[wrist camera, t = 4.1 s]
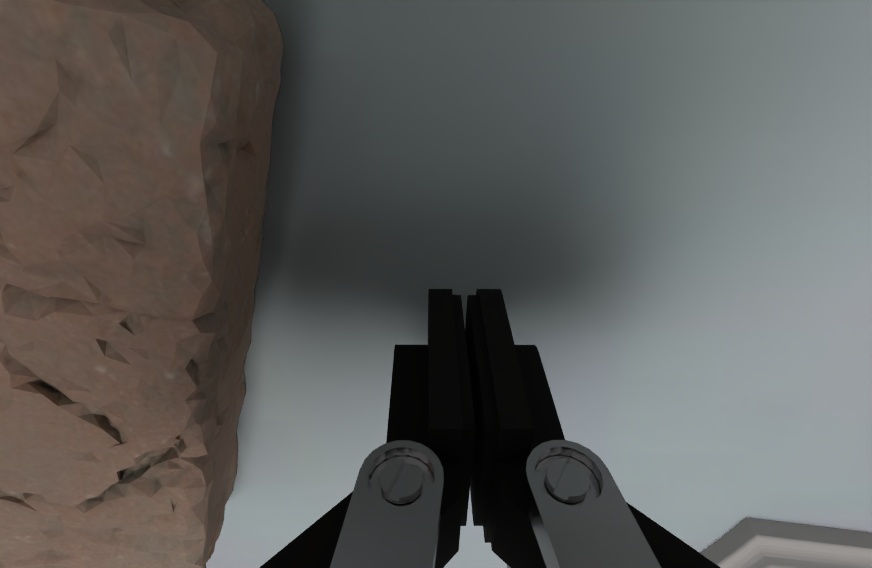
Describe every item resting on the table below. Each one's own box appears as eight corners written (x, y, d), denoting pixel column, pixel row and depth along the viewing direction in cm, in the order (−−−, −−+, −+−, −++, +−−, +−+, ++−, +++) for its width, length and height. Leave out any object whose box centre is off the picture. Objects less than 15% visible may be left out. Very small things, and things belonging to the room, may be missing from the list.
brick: (241, 495, 17) (187, 648, 13) (-13, 456, 16) (-159, 615, 12) (312, -7, 9) (219, 3, 5) (-228, -195, 7) (-1013, -408, 3)
